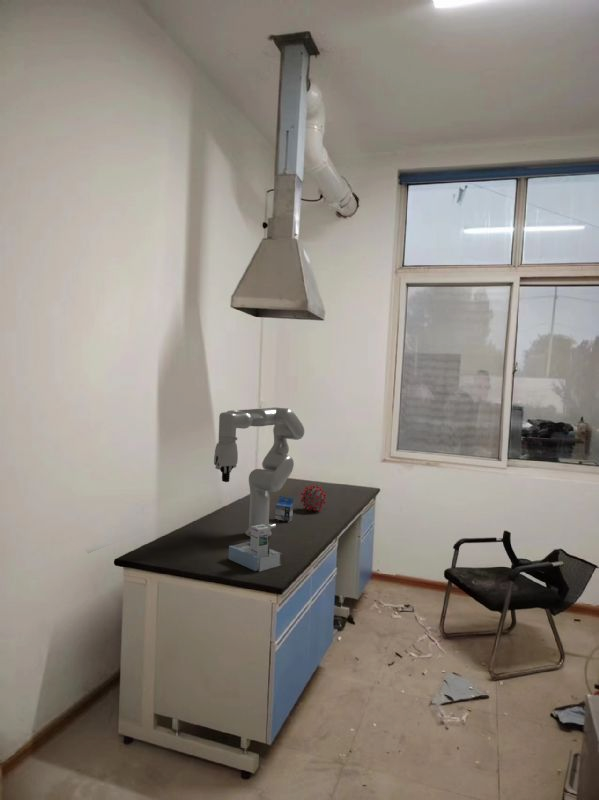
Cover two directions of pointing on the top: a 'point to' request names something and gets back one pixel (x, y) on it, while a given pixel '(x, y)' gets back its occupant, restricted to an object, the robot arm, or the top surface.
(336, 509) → the top surface
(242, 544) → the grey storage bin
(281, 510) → the label tape cartridge
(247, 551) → the tray
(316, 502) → the virus model
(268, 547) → the syrup box
